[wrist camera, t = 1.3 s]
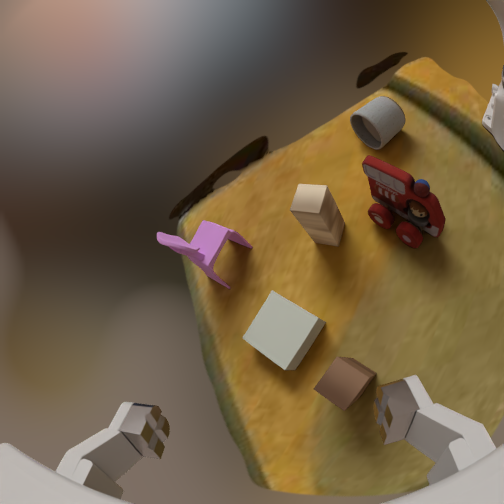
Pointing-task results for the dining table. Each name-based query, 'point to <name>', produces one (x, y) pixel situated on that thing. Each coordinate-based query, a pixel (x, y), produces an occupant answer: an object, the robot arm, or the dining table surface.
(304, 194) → the maple block
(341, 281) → the dining table surface
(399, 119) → the ceramic mug
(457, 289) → the dining table surface
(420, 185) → the toy fire truck
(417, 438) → the robot arm
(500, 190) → the dining table surface
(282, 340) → the pedestal block
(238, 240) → the toy chair
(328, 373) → the walnut block
